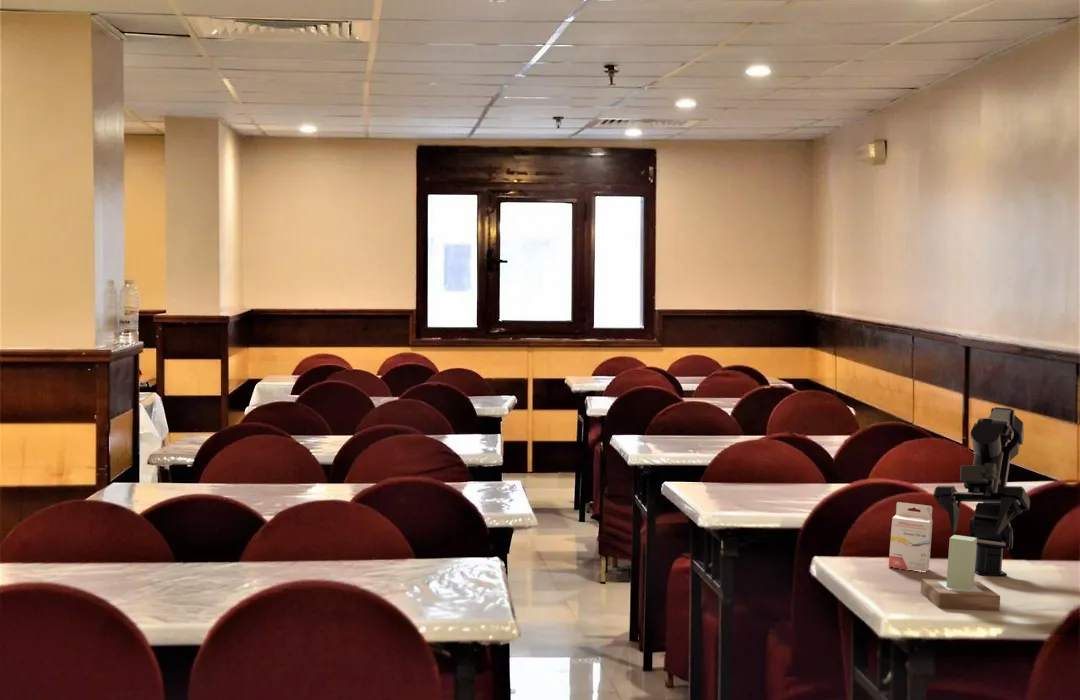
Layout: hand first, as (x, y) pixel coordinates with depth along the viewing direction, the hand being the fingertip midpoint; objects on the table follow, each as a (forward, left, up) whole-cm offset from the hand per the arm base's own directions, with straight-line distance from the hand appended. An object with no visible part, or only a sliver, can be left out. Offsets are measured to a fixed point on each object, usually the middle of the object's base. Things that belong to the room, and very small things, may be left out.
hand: (974, 532), depth 254 cm
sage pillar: (+7, -5, -10) cm, 13 cm away
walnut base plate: (+7, -5, -13) cm, 16 cm away
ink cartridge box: (-22, -7, -13) cm, 27 cm away
